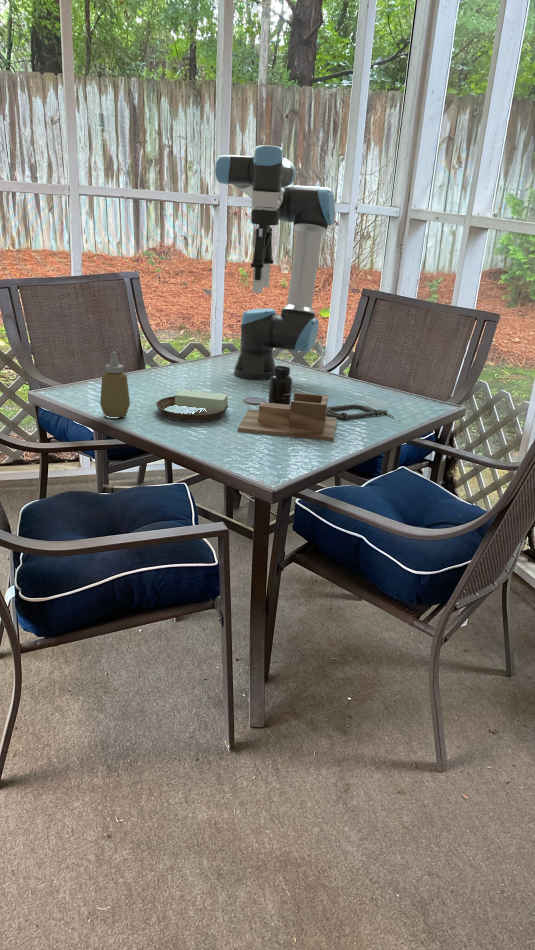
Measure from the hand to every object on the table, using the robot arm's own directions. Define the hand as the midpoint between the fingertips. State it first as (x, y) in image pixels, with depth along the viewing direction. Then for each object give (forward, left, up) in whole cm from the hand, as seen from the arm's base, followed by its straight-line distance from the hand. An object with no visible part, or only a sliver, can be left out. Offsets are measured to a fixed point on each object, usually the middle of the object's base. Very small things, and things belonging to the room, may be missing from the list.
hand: (261, 289), depth 189 cm
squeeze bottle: (+22, -36, -35) cm, 55 cm away
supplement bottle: (-4, +7, -35) cm, 36 cm away
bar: (+12, -14, -32) cm, 37 cm away
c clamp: (-2, +31, -36) cm, 47 cm away
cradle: (+15, +12, -35) cm, 40 cm away
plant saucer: (+12, -16, -35) cm, 41 cm away
